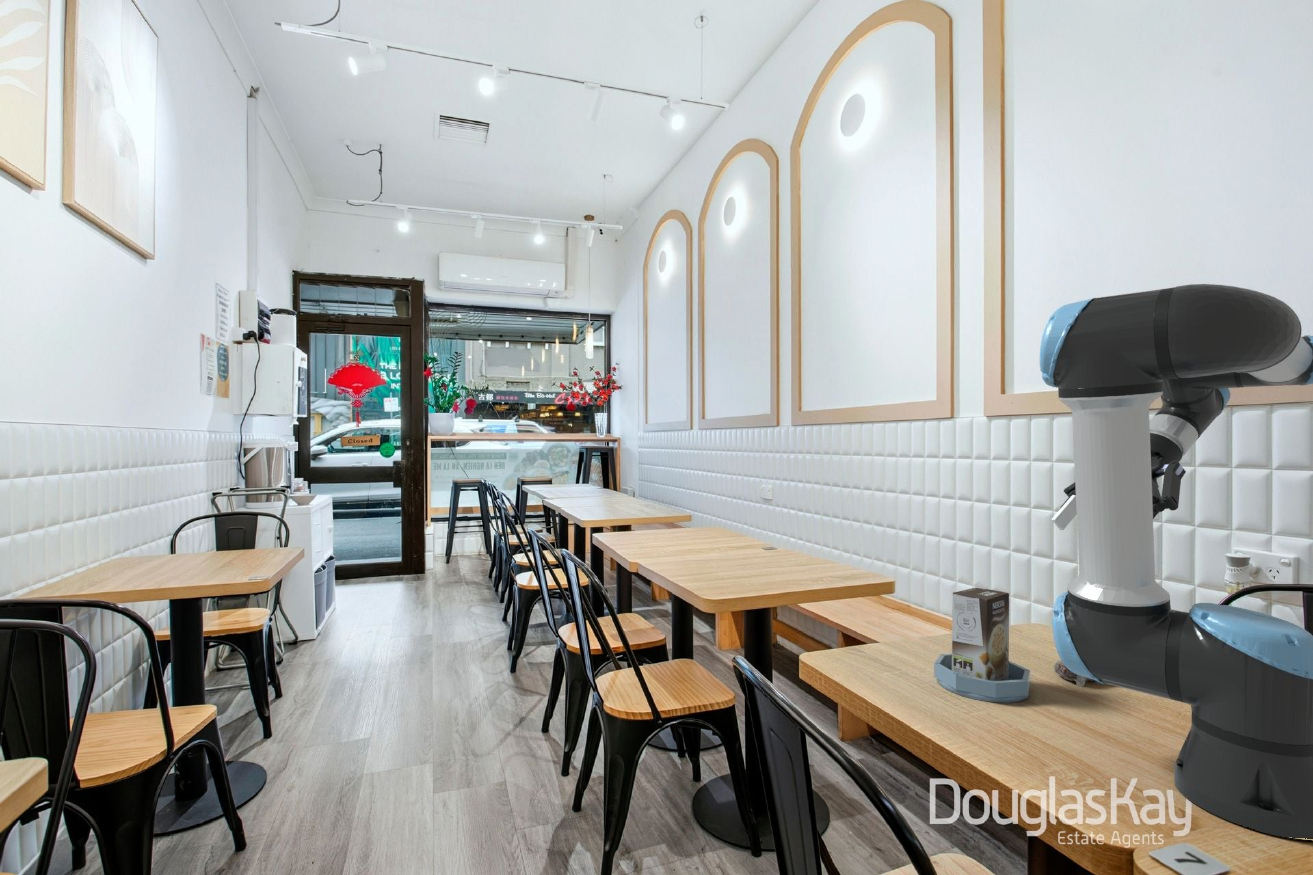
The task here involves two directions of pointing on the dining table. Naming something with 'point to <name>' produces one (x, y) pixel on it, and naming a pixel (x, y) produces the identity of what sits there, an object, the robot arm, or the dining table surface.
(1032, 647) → the dining table surface
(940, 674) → the slate bowl
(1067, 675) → the mineral rock
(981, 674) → the coffee box
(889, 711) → the dining table surface
